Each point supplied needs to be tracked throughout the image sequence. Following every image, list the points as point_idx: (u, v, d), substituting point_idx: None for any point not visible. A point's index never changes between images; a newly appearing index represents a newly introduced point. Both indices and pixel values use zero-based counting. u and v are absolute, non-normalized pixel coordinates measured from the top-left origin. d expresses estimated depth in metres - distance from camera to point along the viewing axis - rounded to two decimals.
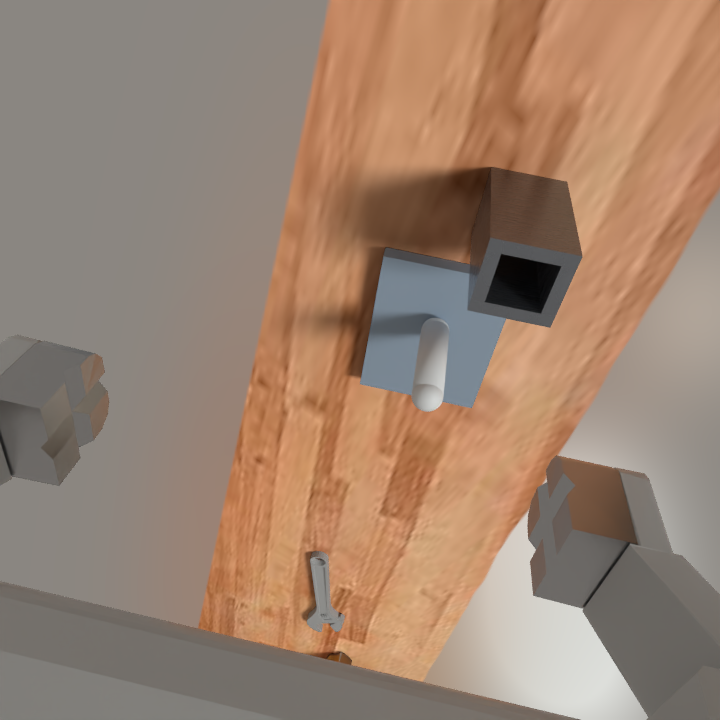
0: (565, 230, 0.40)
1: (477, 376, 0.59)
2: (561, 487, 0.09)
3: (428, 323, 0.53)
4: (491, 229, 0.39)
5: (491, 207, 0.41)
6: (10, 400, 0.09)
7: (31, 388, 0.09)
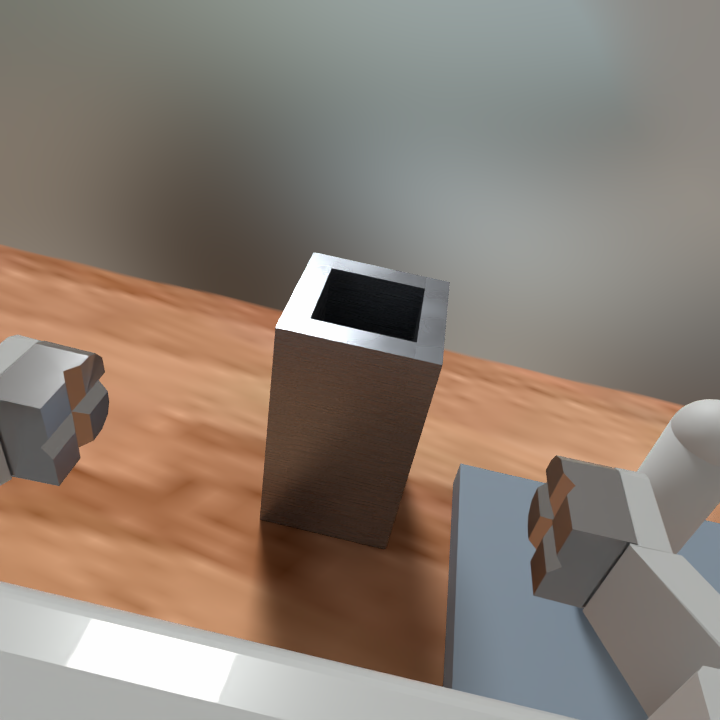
0: None
1: None
2: (561, 487, 0.09)
3: None
4: (274, 351, 0.22)
5: (269, 414, 0.23)
6: (10, 400, 0.09)
7: (31, 388, 0.09)
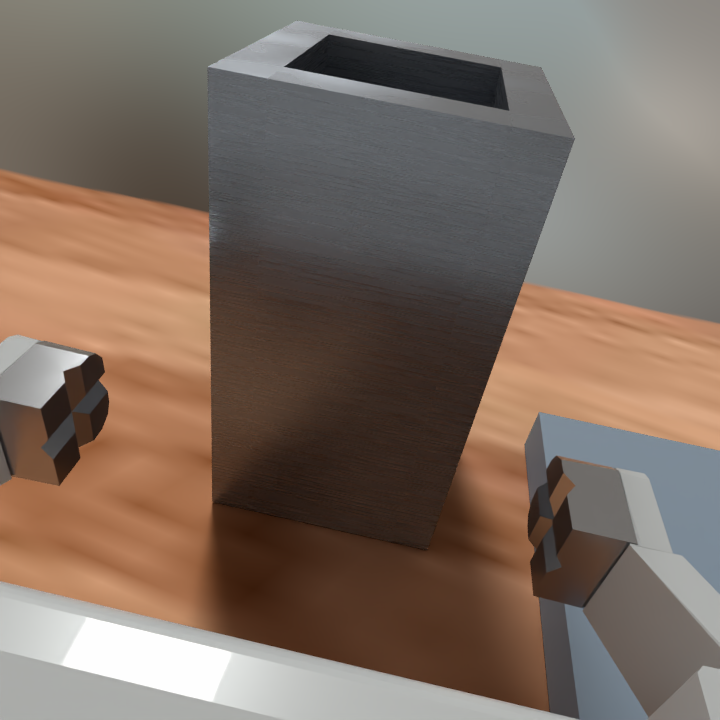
0: None
1: None
2: (561, 487, 0.09)
3: None
4: (209, 134, 0.10)
5: (212, 290, 0.12)
6: (10, 400, 0.09)
7: (31, 388, 0.09)
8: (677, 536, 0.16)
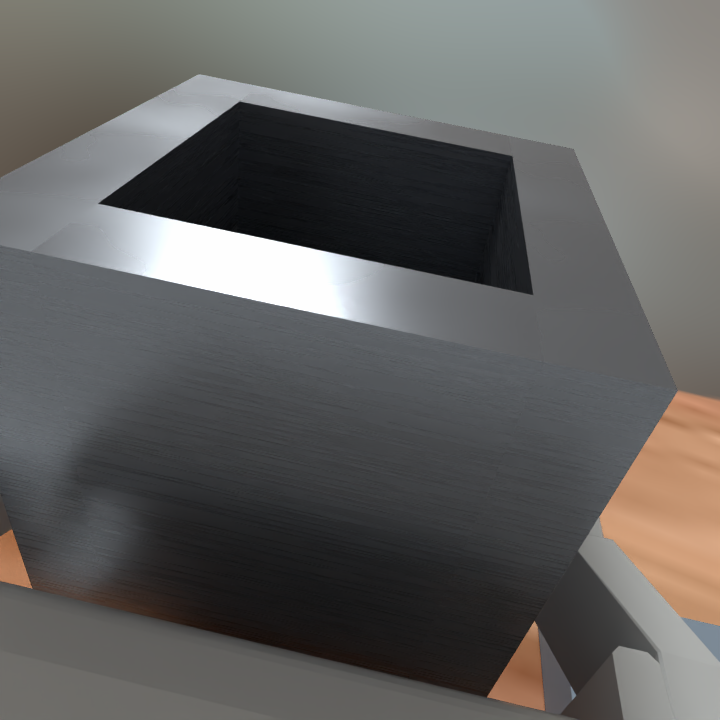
0: None
1: None
2: None
3: None
4: None
5: (23, 545, 0.07)
6: None
7: None
8: None
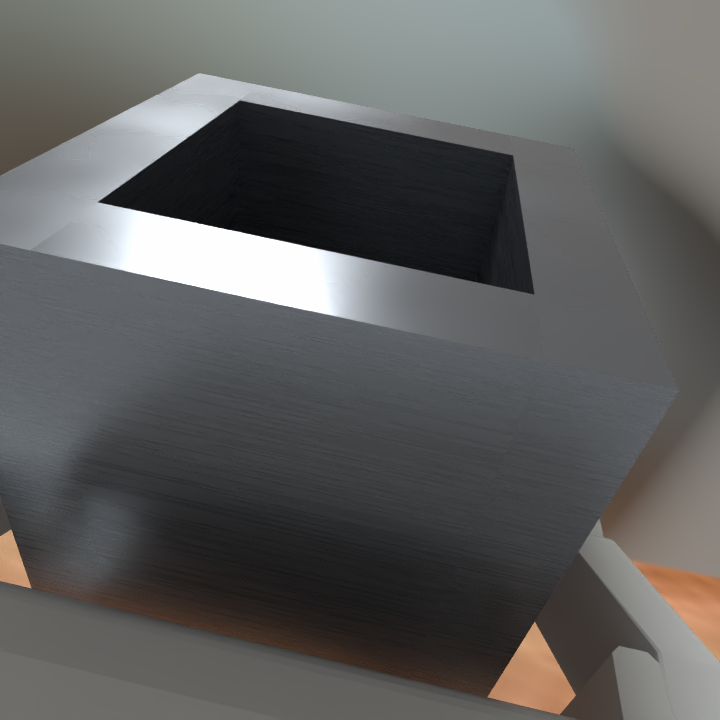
0: None
1: None
2: None
3: None
4: None
5: (23, 545, 0.07)
6: None
7: None
8: None
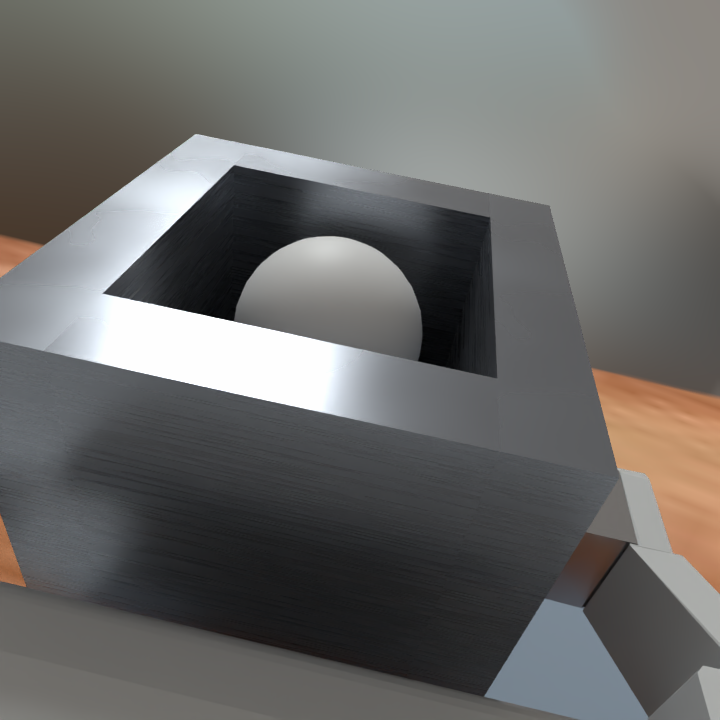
0: None
1: None
2: None
3: None
4: None
5: None
6: None
7: None
8: None
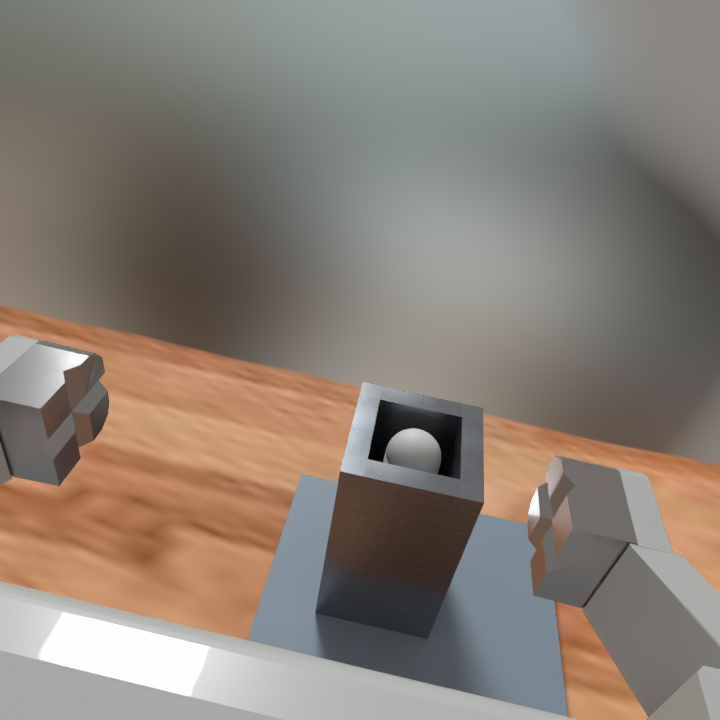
0: None
1: None
2: (561, 487, 0.09)
3: None
4: (337, 487, 0.25)
5: (329, 533, 0.27)
6: (10, 400, 0.09)
7: (31, 388, 0.09)
8: None
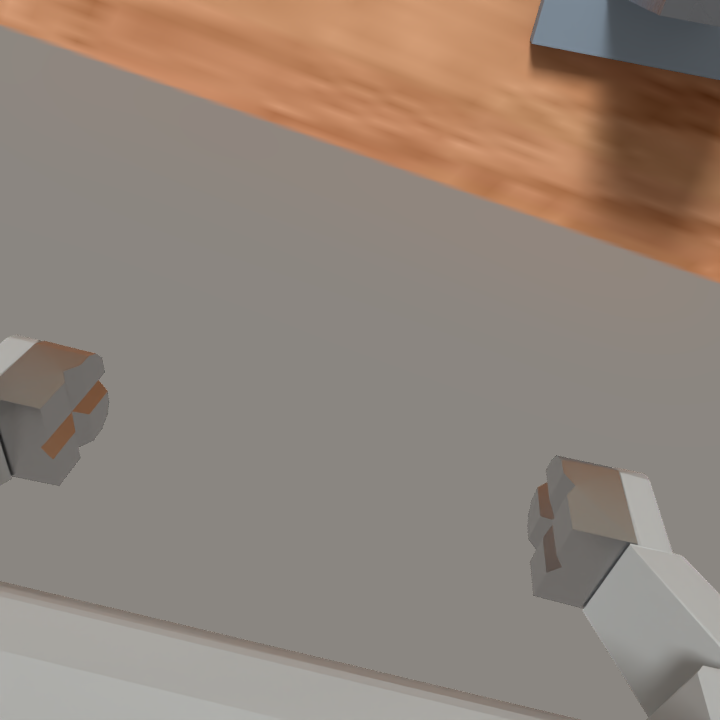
0: None
1: None
2: (561, 487, 0.09)
3: None
4: (653, 10, 0.22)
5: (636, 2, 0.25)
6: (10, 400, 0.09)
7: (31, 388, 0.09)
8: None
